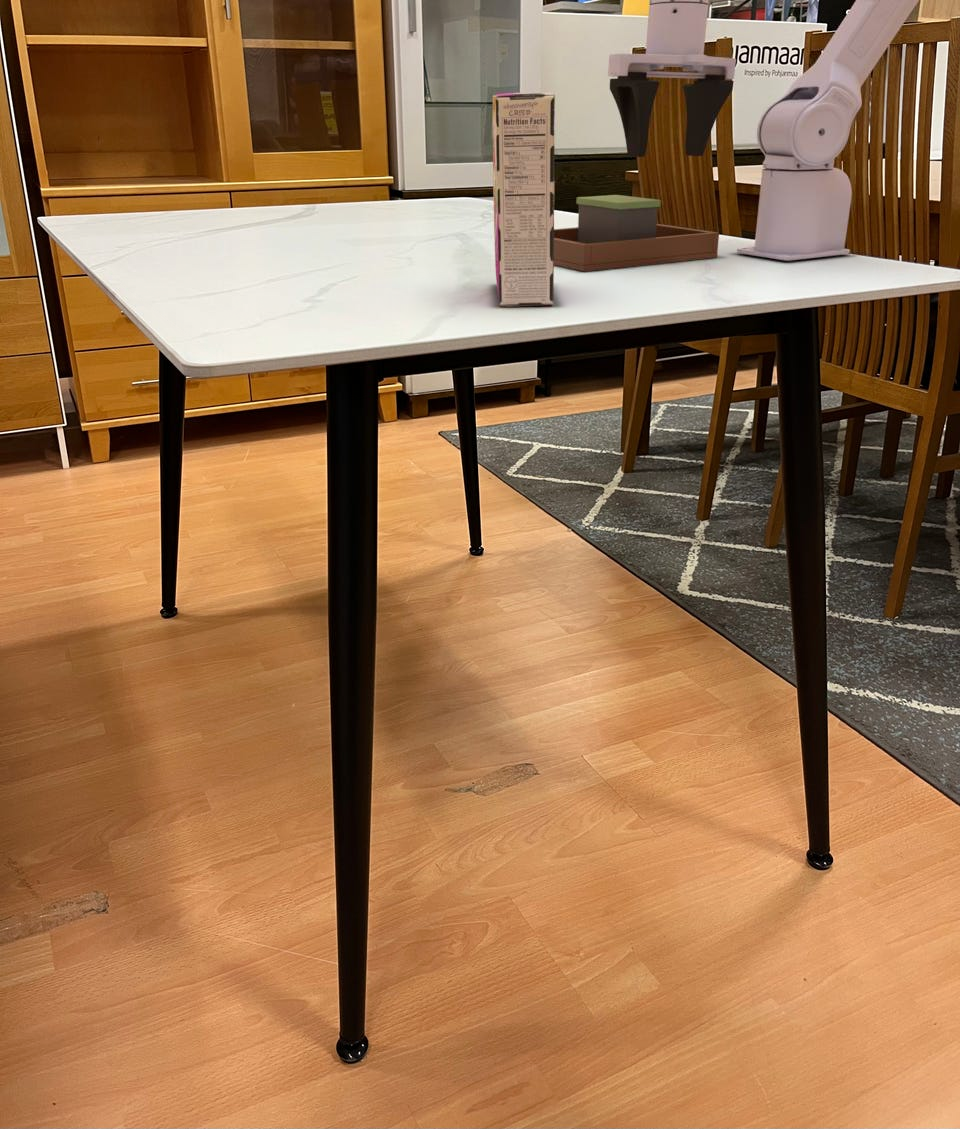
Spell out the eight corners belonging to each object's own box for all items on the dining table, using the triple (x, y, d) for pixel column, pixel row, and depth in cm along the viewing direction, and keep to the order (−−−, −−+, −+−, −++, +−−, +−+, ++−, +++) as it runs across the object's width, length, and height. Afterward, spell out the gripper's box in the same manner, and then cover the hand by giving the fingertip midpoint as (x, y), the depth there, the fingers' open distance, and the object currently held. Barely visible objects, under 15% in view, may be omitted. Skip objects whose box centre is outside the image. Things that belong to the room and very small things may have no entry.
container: (614, 245, 111) (616, 194, 109) (657, 253, 105) (661, 200, 102) (574, 248, 109) (576, 197, 107) (616, 257, 102) (618, 202, 100)
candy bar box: (493, 285, 91) (491, 93, 84) (545, 284, 91) (548, 92, 84) (495, 307, 81) (493, 91, 74) (554, 306, 81) (558, 90, 74)
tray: (641, 244, 116) (643, 221, 115) (717, 257, 105) (719, 232, 104) (516, 256, 109) (516, 232, 108) (583, 271, 98) (584, 245, 97)
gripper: (644, -3, 88) (632, 158, 93) (763, 6, 94) (745, 156, 100) (599, 3, 93) (591, 155, 99) (714, 12, 100) (700, 154, 105)
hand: (665, 156), depth 100 cm, fingers open, 7 cm apart
